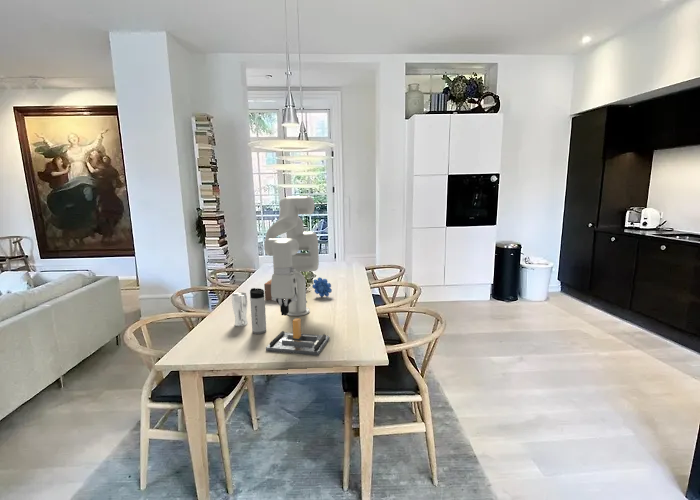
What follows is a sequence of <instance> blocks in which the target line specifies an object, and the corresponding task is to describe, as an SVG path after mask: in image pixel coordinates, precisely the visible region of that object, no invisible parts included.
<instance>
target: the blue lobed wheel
mask: <svg viewBox="0 0 700 500" xmlns="http://www.w3.org/2000/svg"><path fill="white" fill-rule="evenodd" d="M311 286H312V289H314V293H315V294H316V295H319V296H320V297H321V298H323V297H329V295H330V293H332V292H333V291H332V284H331V283H330V282H328V279H327V278H322V277H317V279H314V280H313V284H312V285H311Z"/></svg>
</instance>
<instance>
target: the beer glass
mask: <svg viewBox="0 0 700 500" xmlns="http://www.w3.org/2000/svg"><path fill="white" fill-rule="evenodd" d="M247 297H248V296H247V292H244V291H243V292H234V293H232V294H231V304H232V311H233V314H234V326H235V327H244V326H247V325H248V319H247V311H248V298H247Z"/></svg>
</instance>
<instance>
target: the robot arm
mask: <svg viewBox="0 0 700 500" xmlns="http://www.w3.org/2000/svg"><path fill="white" fill-rule="evenodd" d="M315 206H316V205H315V200H314V199H313V197H310V196H306V195H304V196H303V195H300V196H299V195H298V196H286V197H283V198H282V199H280V200H279V208H280V209H279V215H278V220H276V221H275V222H274V223H273V224H272V225H271V226H269V228H268V229H267V231H266V234H265V240H264V248H263V249H264V252H265V255H267V256H270V257H272V260H273V261H272V263H273V264H272V265H273V274H272V276H271V279H272V280H271V279H270V280H271V296H272V300H271V301H275V302H277V303H278V305H279V306H280V313H281V316H286V315H287V316H290V317H291V316H292V317H299V316H305V315H308V314H309V313H310V308H309V307H307V304H308V301H307V292H306V291H307V289H306V282H307V281H306V278H305V276H304V275H303V272H315V271H317V270H318V269H319V267H320V266H319V265H320V264H319V263H320V261H319V259H320V258H319V239H318V235H317V233H316V232H315V231H304V221H303V219H302V218H301V217H300V216H299V215H312V214H313V213H314V212H315ZM282 234H283V235H284V234H286V237H285V238H284V237H279V236H281V235H282ZM299 251H308V252H300V253H299ZM284 299H285V301H284Z"/></svg>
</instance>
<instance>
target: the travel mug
mask: <svg viewBox="0 0 700 500" xmlns="http://www.w3.org/2000/svg"><path fill="white" fill-rule="evenodd" d="M249 294H250V297H249V300H250V316H251V318H250V319H251V331H252V334H254V335H262V334H264V333H266V332H267V319H266V318H267V316H266V300H265V289H263V288H258V287H256V288H255V287H252V288H250V290H249Z"/></svg>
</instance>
